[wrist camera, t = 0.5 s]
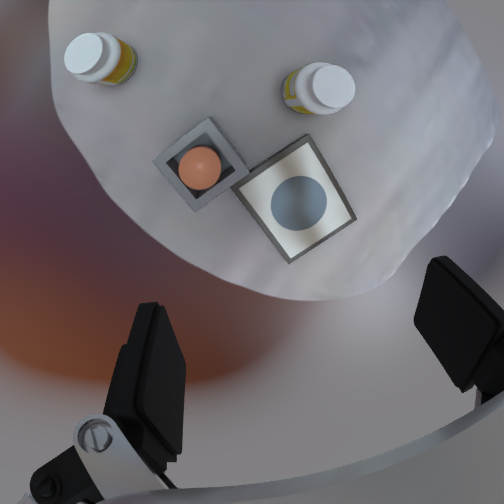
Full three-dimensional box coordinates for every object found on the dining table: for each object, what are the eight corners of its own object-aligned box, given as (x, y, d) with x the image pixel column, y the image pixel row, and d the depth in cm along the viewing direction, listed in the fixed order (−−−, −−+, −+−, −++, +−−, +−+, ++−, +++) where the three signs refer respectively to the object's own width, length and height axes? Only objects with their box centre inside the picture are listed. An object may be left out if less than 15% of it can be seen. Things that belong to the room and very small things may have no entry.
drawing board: (306, 133, 32) (309, 134, 30) (354, 216, 37) (358, 220, 36) (229, 184, 34) (230, 187, 33) (287, 260, 39) (289, 265, 38)
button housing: (210, 116, 30) (208, 117, 25) (245, 163, 33) (249, 172, 28) (161, 153, 31) (152, 161, 27) (198, 198, 34) (194, 212, 30)
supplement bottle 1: (97, 90, 26) (57, 88, 18) (96, 50, 24) (57, 36, 15) (139, 81, 27) (109, 73, 18) (138, 40, 24) (110, 19, 16)
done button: (205, 137, 28) (203, 140, 25) (228, 167, 29) (229, 173, 27) (174, 160, 28) (170, 166, 26) (198, 189, 30) (195, 197, 27)
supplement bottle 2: (333, 100, 30) (372, 101, 21) (296, 121, 31) (324, 128, 22) (310, 62, 27) (343, 48, 19) (271, 83, 28) (291, 74, 20)
